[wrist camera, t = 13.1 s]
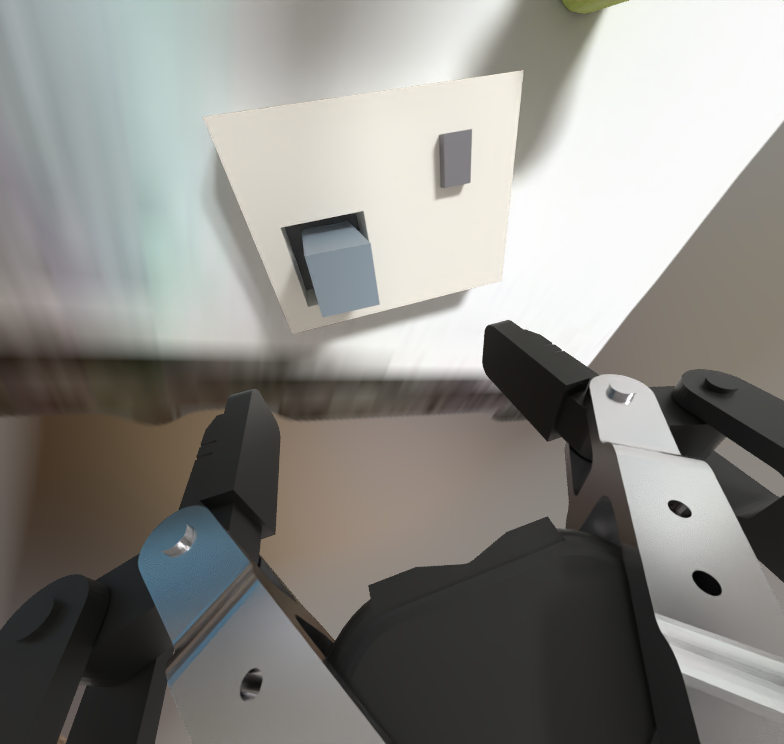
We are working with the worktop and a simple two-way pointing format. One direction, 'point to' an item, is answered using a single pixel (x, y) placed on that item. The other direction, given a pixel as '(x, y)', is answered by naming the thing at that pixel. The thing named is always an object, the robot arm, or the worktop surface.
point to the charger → (340, 268)
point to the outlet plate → (381, 184)
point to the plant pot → (589, 5)
